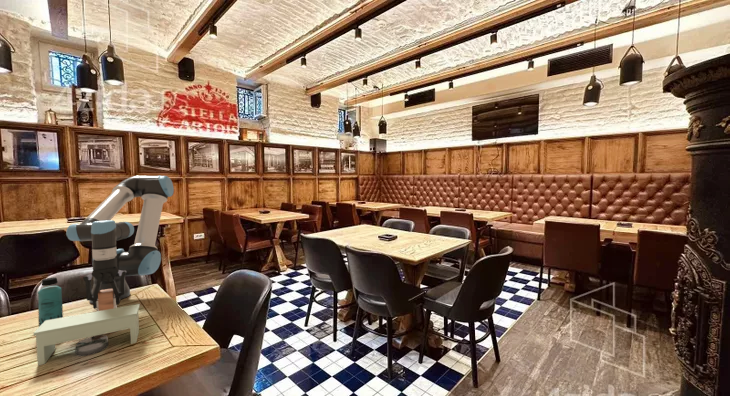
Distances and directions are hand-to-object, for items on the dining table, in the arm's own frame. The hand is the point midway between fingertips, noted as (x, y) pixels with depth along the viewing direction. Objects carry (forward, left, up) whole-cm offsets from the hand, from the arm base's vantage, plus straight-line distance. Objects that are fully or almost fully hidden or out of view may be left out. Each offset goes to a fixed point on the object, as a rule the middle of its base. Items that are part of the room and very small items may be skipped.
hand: (107, 313), depth 123 cm
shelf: (+26, 0, -2) cm, 26 cm away
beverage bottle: (+2, -16, -2) cm, 16 cm away
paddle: (+9, 0, 0) cm, 9 cm away
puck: (+28, 0, -2) cm, 28 cm away
